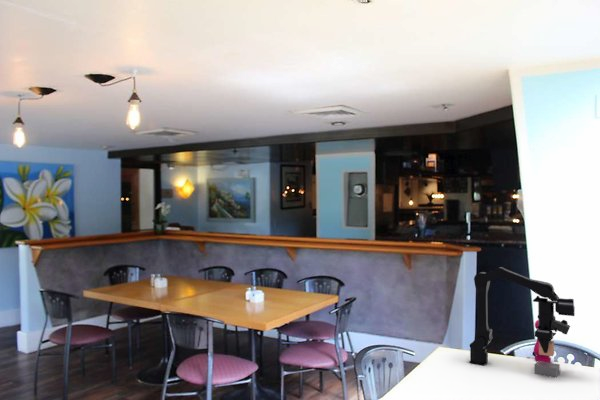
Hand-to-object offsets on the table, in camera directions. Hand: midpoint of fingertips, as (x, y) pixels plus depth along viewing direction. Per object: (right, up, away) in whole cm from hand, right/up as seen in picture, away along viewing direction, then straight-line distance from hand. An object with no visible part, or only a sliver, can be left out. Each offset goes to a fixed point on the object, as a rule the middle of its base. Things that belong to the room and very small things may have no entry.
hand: (546, 351), depth 194 cm
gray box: (0, -9, -1) cm, 9 cm away
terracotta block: (0, -1, 0) cm, 1 cm away
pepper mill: (+7, -10, +17) cm, 21 cm away
